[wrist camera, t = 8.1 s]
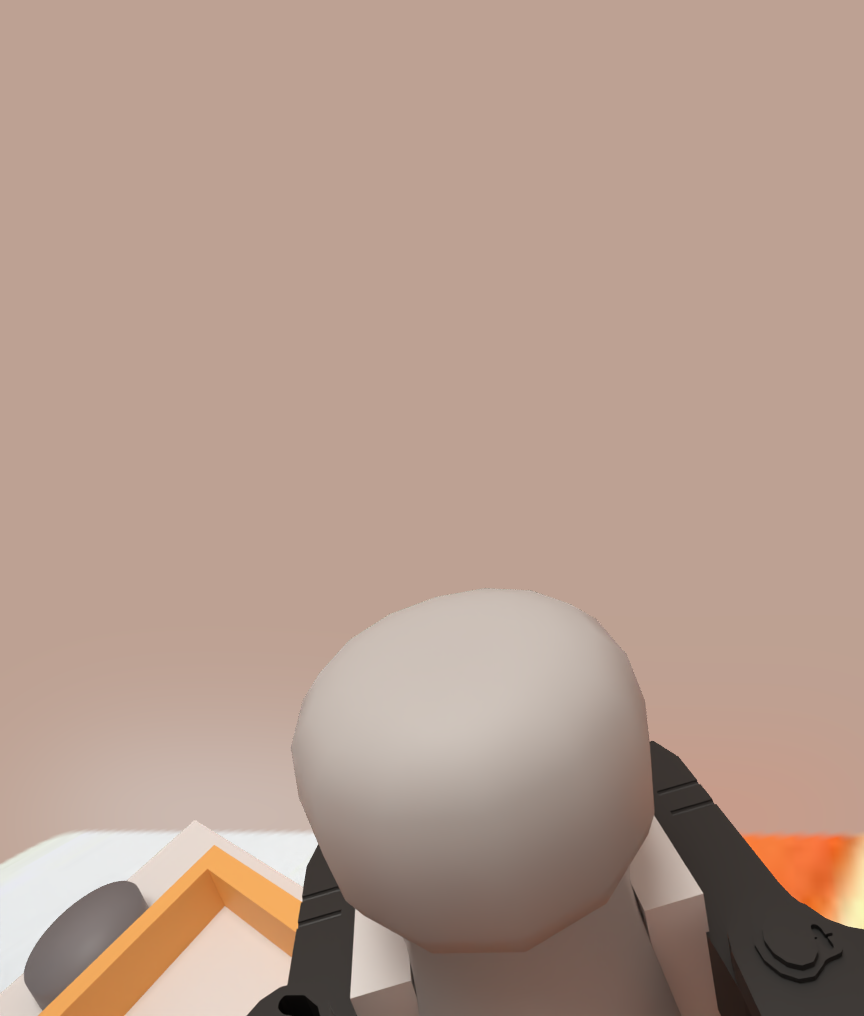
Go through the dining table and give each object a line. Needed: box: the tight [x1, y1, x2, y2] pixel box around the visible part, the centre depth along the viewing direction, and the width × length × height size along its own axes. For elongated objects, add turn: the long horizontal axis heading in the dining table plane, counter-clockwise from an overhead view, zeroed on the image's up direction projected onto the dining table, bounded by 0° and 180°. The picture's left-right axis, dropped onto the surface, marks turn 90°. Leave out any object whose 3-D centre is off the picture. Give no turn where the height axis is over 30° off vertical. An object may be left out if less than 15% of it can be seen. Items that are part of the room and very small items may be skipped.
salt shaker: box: [291, 588, 681, 1016], centre depth 8 cm, size 6×6×13 cm
